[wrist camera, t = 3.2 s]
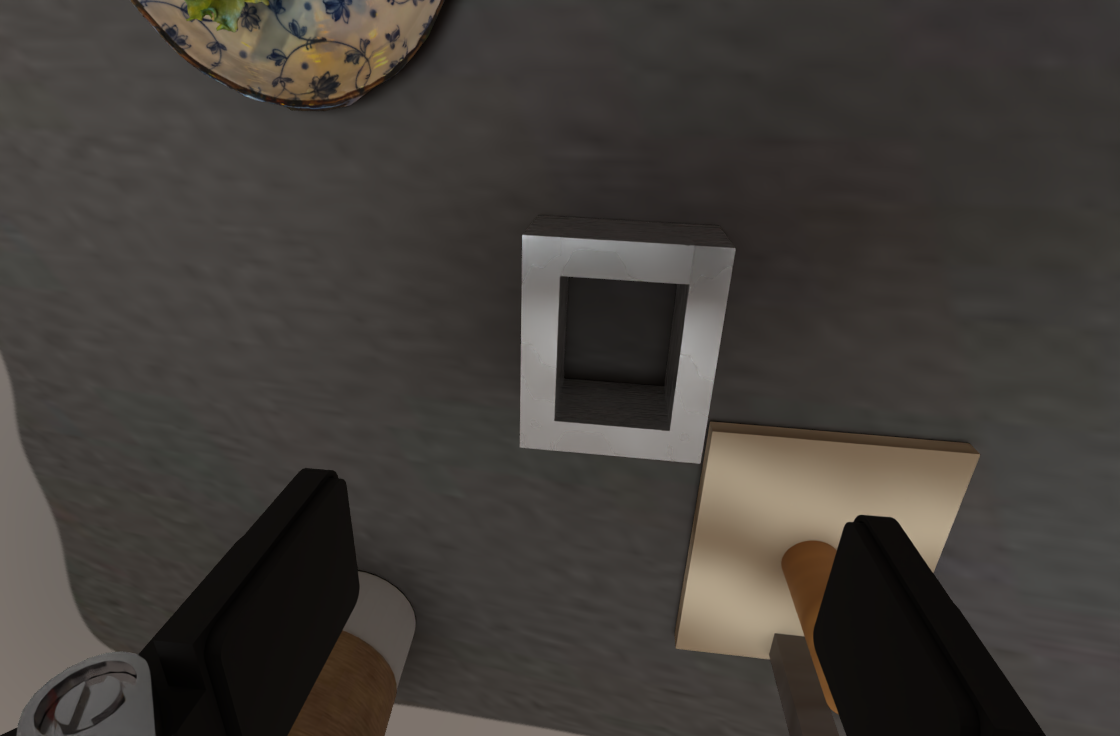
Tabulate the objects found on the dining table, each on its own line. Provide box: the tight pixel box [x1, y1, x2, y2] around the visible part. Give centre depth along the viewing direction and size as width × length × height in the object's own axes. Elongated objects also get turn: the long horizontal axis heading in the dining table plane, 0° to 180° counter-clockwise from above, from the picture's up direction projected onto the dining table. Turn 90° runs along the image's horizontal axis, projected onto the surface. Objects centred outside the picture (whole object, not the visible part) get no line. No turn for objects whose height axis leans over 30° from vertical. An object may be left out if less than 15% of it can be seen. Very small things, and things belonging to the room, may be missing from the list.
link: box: [520, 215, 736, 464], centre depth 21 cm, size 8×6×4 cm
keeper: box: [675, 421, 980, 736], centre depth 22 cm, size 12×10×8 cm
